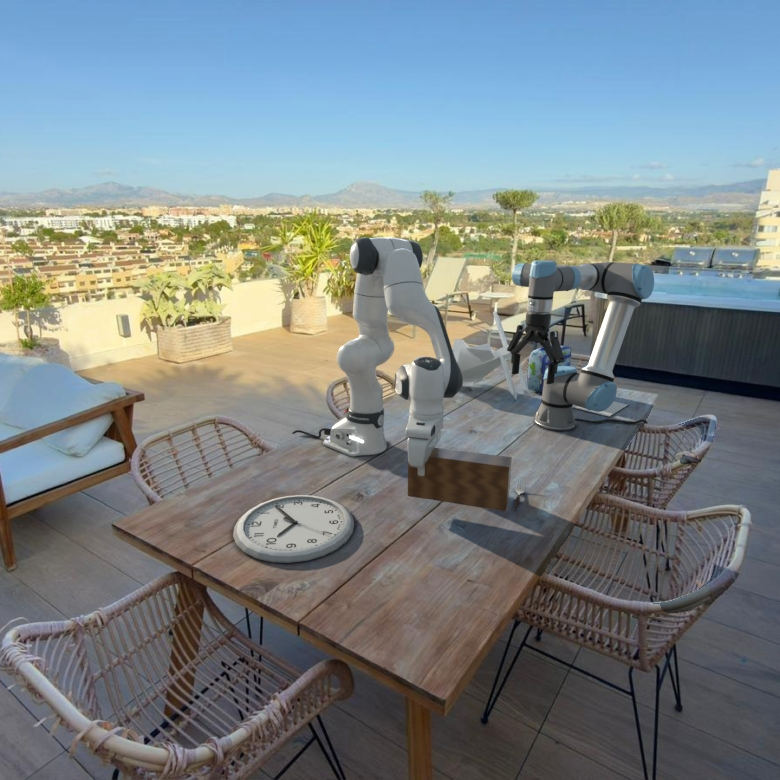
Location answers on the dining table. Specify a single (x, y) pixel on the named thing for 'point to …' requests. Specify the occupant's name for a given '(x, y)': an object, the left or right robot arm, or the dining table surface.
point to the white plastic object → (486, 360)
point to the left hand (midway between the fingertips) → (425, 468)
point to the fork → (519, 491)
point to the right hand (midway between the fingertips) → (532, 378)
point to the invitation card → (609, 411)
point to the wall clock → (293, 529)
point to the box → (463, 479)
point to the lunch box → (542, 367)
